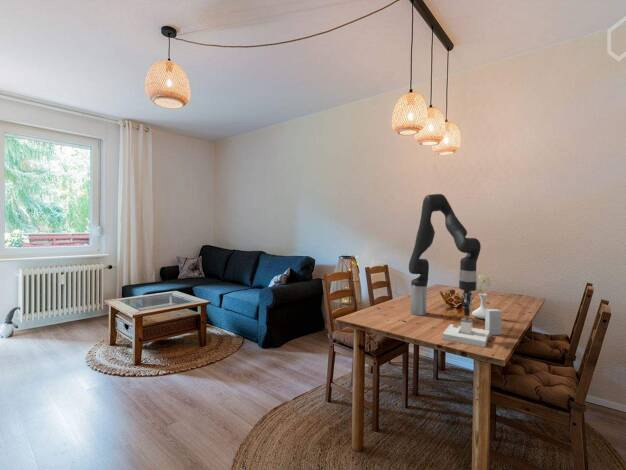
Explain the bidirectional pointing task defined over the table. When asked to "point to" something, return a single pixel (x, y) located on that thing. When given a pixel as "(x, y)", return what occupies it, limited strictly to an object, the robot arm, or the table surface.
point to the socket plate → (466, 336)
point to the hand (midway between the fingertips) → (466, 315)
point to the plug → (466, 326)
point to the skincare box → (493, 321)
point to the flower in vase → (482, 299)
